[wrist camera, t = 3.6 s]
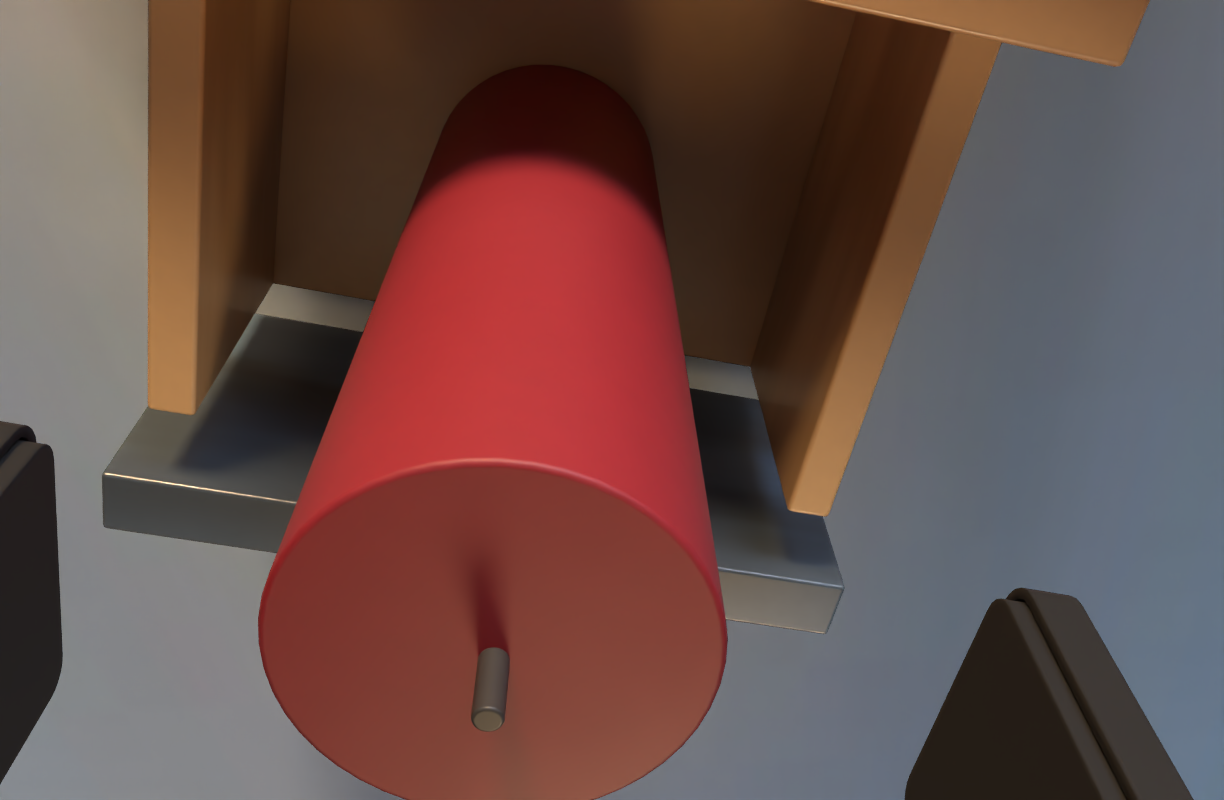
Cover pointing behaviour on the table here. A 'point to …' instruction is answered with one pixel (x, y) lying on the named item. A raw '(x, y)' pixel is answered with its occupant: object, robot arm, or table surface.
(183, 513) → the drawer
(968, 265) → the table surface
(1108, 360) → the table surface
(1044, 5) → the cabinet
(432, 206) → the candle
